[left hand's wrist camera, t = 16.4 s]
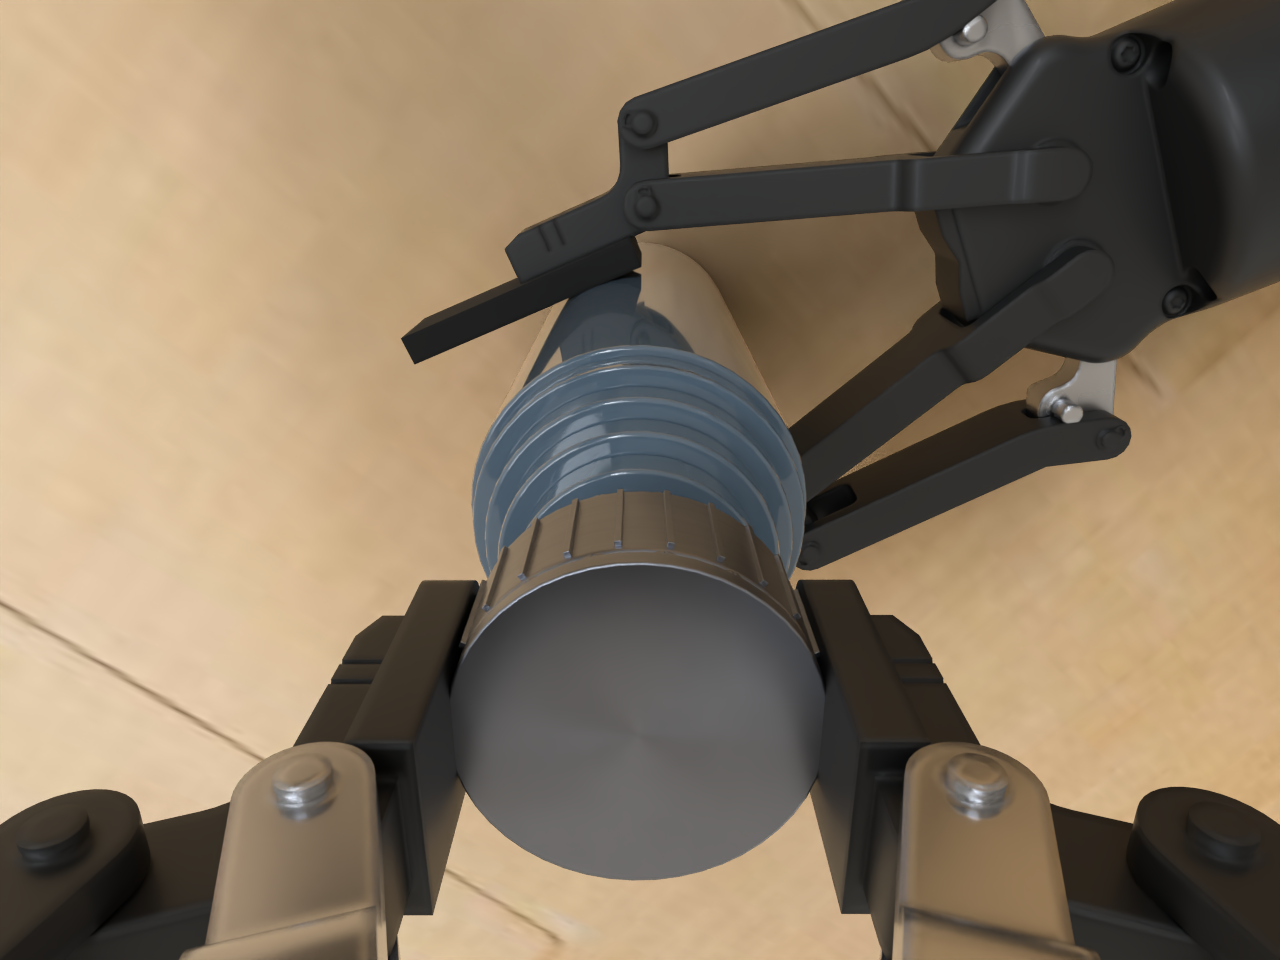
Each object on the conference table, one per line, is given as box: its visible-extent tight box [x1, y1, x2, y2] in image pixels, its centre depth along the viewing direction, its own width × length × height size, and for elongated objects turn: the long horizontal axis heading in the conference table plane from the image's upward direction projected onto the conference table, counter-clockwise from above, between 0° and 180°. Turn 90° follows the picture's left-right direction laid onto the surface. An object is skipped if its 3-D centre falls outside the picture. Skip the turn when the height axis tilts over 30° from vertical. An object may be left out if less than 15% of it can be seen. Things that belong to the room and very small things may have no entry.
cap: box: [450, 489, 826, 880], centre depth 11 cm, size 5×5×2 cm
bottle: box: [471, 242, 807, 580], centre depth 21 cm, size 6×6×22 cm
